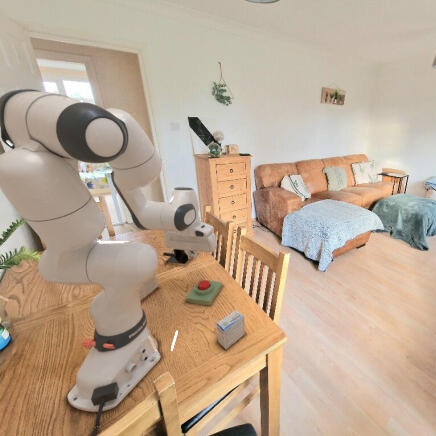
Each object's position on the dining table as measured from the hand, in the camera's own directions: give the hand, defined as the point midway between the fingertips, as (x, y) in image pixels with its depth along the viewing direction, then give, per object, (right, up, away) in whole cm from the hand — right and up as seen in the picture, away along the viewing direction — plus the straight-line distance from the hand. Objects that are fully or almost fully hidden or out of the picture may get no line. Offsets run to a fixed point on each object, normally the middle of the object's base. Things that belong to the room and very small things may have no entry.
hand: (192, 258), depth 97 cm
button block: (+4, -15, +3) cm, 16 cm away
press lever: (-17, +2, +20) cm, 26 cm away
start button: (+4, -12, +1) cm, 13 cm away
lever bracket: (-17, -4, +26) cm, 32 cm away
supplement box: (-25, -15, 0) cm, 29 cm away
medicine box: (+20, -24, -17) cm, 36 cm away
